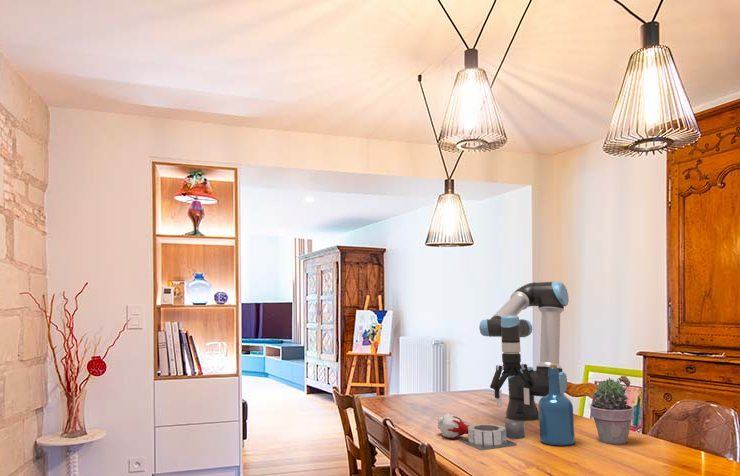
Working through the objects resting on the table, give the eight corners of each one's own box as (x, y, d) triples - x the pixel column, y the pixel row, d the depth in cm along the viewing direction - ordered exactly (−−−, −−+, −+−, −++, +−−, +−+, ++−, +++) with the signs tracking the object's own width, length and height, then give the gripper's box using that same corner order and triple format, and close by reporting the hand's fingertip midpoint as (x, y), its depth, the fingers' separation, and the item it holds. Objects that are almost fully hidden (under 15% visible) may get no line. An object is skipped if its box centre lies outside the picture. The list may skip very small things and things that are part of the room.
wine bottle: (571, 448, 212) (566, 366, 216) (535, 444, 219) (531, 365, 223) (579, 440, 224) (574, 363, 227) (545, 436, 231) (541, 361, 234)
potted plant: (575, 439, 226) (571, 375, 228) (612, 434, 233) (608, 372, 236) (610, 449, 209) (606, 380, 212) (649, 443, 217) (644, 377, 220)
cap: (517, 433, 237) (516, 419, 238) (528, 437, 230) (527, 422, 231) (501, 435, 234) (501, 420, 235) (512, 439, 227) (512, 424, 228)
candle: (437, 432, 241) (472, 438, 236) (431, 437, 230) (468, 445, 225) (439, 410, 241) (474, 416, 236) (433, 415, 231) (470, 421, 226)
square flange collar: (492, 436, 233) (492, 422, 233) (516, 445, 218) (515, 429, 219) (458, 440, 227) (458, 425, 227) (481, 450, 212) (480, 434, 213)
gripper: (530, 351, 244) (532, 401, 241) (480, 353, 235) (482, 406, 232) (541, 352, 237) (543, 404, 234) (490, 354, 228) (492, 409, 225)
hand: (513, 405), depth 233 cm, fingers open, 13 cm apart
